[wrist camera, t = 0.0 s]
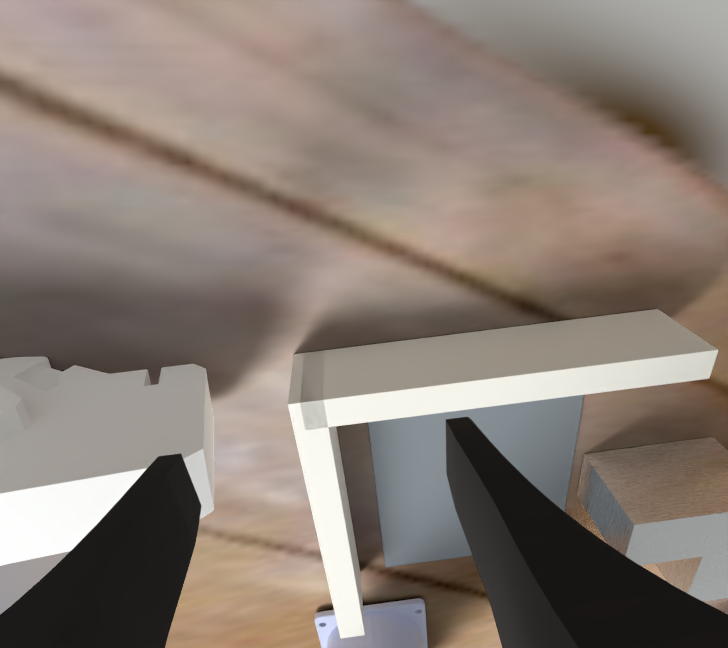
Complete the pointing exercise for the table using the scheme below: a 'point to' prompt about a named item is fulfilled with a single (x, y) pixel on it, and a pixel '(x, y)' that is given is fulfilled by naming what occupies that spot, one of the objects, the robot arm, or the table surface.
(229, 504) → the table surface
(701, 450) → the bracket
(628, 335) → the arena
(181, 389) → the white block
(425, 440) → the mat
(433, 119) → the table surface
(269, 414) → the table surface
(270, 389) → the table surface
